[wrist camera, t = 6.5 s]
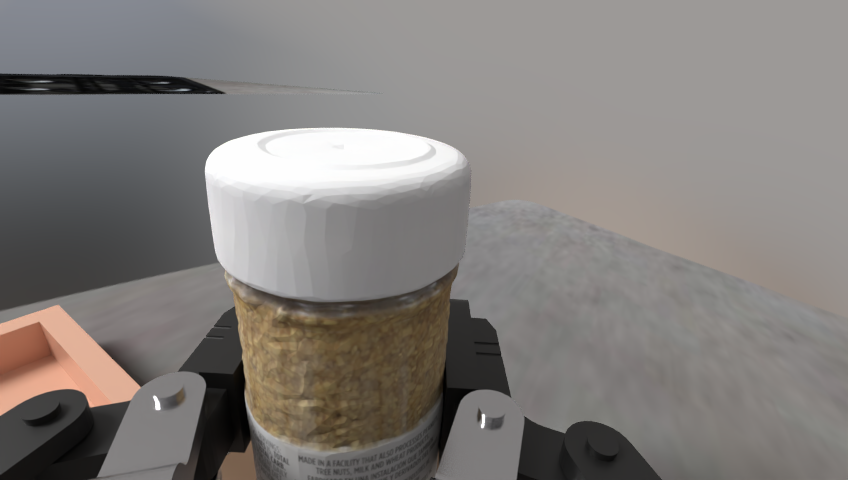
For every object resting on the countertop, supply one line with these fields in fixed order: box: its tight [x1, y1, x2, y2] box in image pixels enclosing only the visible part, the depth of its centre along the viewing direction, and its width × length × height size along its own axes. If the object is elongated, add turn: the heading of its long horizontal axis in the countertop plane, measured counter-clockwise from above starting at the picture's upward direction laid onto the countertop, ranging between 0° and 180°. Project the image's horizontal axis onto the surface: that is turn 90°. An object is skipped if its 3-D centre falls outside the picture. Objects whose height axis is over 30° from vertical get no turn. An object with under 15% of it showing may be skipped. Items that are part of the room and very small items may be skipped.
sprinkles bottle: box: [205, 128, 471, 480], centre depth 10 cm, size 5×5×14 cm
